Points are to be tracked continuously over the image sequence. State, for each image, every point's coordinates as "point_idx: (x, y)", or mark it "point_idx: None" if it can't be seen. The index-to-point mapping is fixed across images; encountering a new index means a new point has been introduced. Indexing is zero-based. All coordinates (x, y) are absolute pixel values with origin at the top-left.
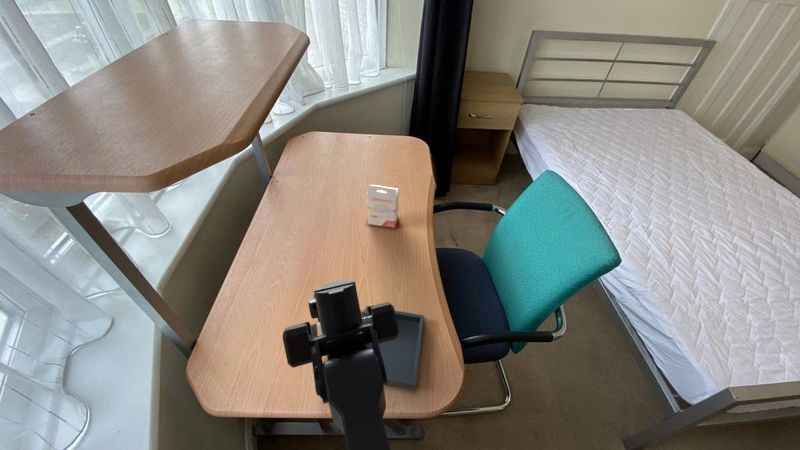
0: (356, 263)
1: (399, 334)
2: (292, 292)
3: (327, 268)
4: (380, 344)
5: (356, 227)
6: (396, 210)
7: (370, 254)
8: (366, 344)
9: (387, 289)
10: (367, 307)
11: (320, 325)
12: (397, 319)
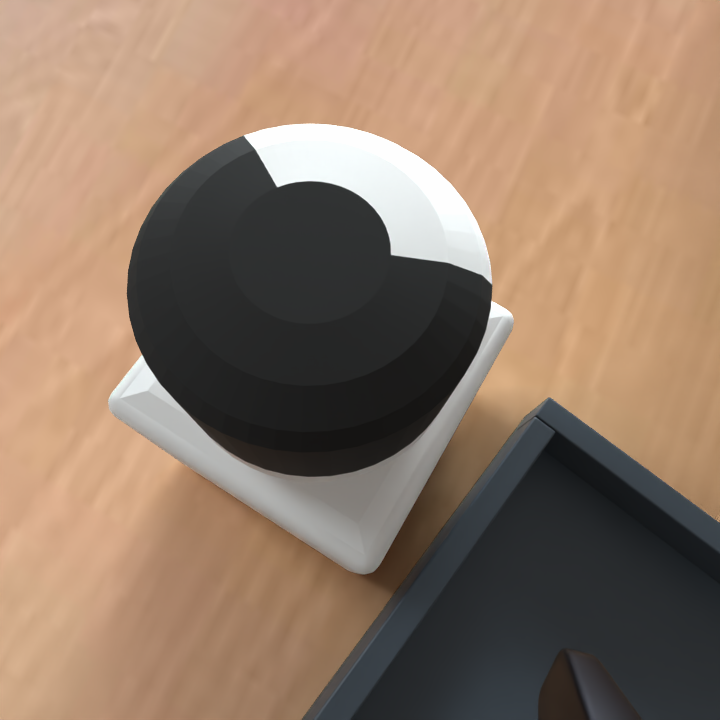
0: (581, 95)
1: (684, 711)
2: (167, 98)
3: (409, 52)
4: (521, 712)
5: None
6: None
7: (683, 79)
8: (427, 657)
9: (709, 337)
10: (549, 411)
11: (121, 420)
12: (709, 586)
